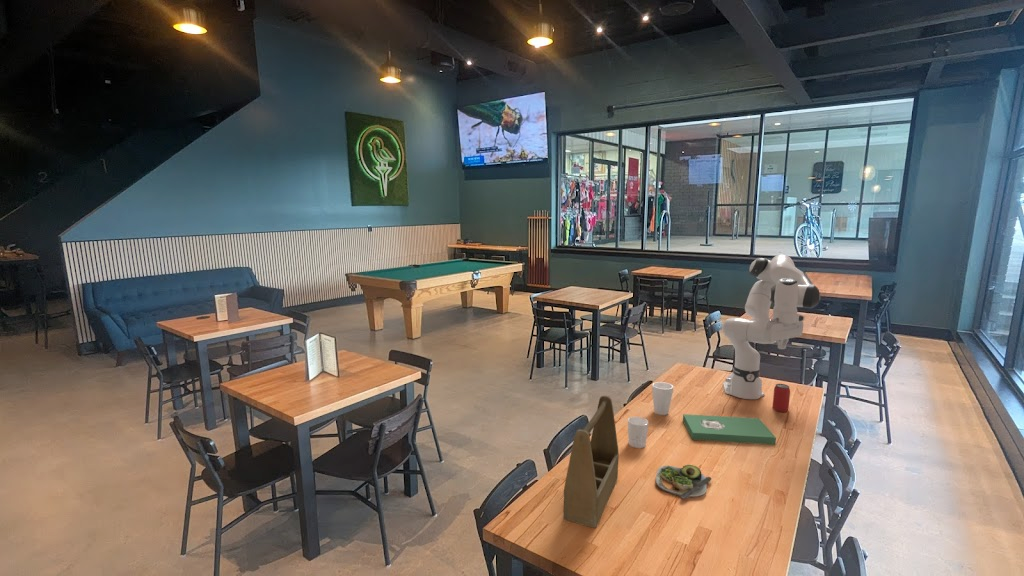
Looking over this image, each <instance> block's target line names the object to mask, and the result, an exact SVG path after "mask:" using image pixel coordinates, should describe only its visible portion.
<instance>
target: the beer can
mask: <svg viewBox="0 0 1024 576" xmlns="http://www.w3.org/2000/svg"><path fill="white" fill-rule="evenodd" d="M790 396H791V389H790V386H789V385H787V384H784V383H776V384H775V386H774V389H773V397H772V399H773V400H772V409H773V411H776V412H778V413H787V412H788V411H789V409H790V407H789V406H790V398H791V397H790Z"/></svg>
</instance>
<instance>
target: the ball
mask: <svg viewBox="0 0 1024 576" xmlns="http://www.w3.org/2000/svg"><path fill="white" fill-rule="evenodd" d="M709 427H719V425H718V424H717V423H716V422H710V423H709Z"/></svg>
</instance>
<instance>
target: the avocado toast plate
mask: <svg viewBox="0 0 1024 576" xmlns="http://www.w3.org/2000/svg"><path fill="white" fill-rule="evenodd" d="M663 480H664V481H666V482H668V483H671V484H672V486H673V488H674V489H672V488H668V487H666V486H665V485H664V483H663ZM710 481H712V478H711V476H705V475H704V474H702V472H701V469H700V468H699V467H698V466H696V465H694V464H685V465H683V466H682V467H678V466H673V465H663V466H660V467H658V469H657V471H656V476H655V484H656V486H658V488H659V489H661V490H662V491H663V492H665V493H667V494H669V495H673V496H678V497H679V498H680V499H682V500H685V499H688V498H697V497H698V498H699V497H701V496H704V495H705V494H706V492H707V484H709V483H710Z"/></svg>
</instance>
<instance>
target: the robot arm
mask: <svg viewBox="0 0 1024 576" xmlns="http://www.w3.org/2000/svg"><path fill="white" fill-rule="evenodd" d="M749 275H751V277H753V278H755V279H756V278H757V280H758V281H756V282H755V283H754V284H753V285H752V287H751V289H750V290H749V292H748V293H749V294H748V296H747V299H746V303H745V305H744V312H745V313H746V315H748V317H750V318H751V319H749V318H740V317H731V318H727V319H725V321H724V322H723V324H722V328H721V329H722V333H723V334H724V336H725V337H726V338H727V339H729V341H730V343H731V344H732V346H733V348H734V358H735V360H734V365H733V368H732V372H731V373H730V374H729V375H727V377H725V382H722V386H723V390H724V393H725V394H726V395H730V396H732V397H733V396H734V397H736V398H740V399H743V400H744V399H745V400H759V399H760V398H761V397H764V396H765V392H763V380H762V379H761V378H760V374H761V369H760V361H761V355H760V353H759V352H758V350H756V348H753V347H752V346H751V344H750V343H755V344H756V343H757V344H761V345H767V344H768V345H769V344H770V345H772V344H775V343H776V344H777V349H779V350H785V349H786V348H787V344H788V343H789V339H793V338H798V337H801V336H802V335H803V332H804V320H805V316H804V315H802V314H799V313H798V308H805V309H813V308H815V307H816V306H818V305H819V303H820V301H821V292H820V289H819V288H818V287H817V286H816V285H815V284H814V283H813V282H812V280H811V279H810V277H809V276H808V275H807V273H806V272H804V271H802V270H800V269H799V268H797V267H796V265H795V263H794V260H793V259H792V258H791V257H790V256H789V255H786V254H777V255H775V256H774V257H772V259H771V260H769V259H767V258H766V257H764V258H763V257H757V258H755V259H754V261H752V262H751V264H750V265H749ZM772 304H773V305H774V306H773V310H772V319H771V317H770V309H771V305H772Z"/></svg>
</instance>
